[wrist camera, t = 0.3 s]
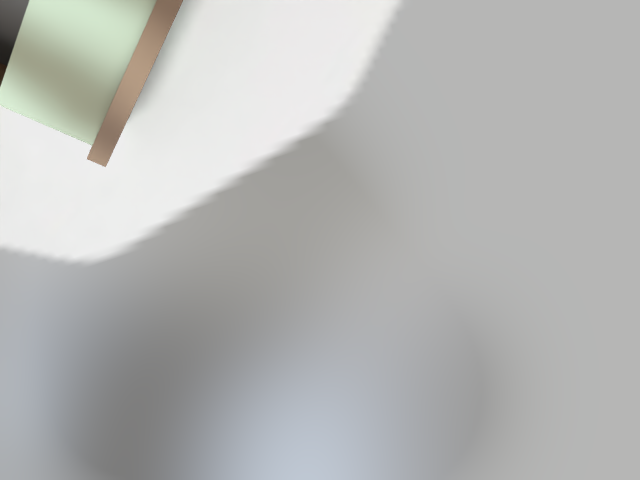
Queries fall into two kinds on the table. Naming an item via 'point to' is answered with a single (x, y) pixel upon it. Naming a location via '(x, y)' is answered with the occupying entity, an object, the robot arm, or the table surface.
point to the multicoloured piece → (80, 63)
